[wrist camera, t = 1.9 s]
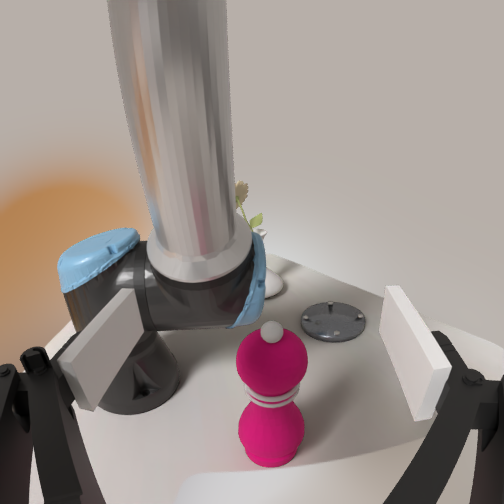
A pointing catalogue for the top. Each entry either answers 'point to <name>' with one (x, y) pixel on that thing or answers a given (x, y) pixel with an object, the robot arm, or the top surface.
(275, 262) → the top surface
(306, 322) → the flange plate
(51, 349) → the top surface
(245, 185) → the flower in vase
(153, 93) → the robot arm
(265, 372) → the pepper mill
